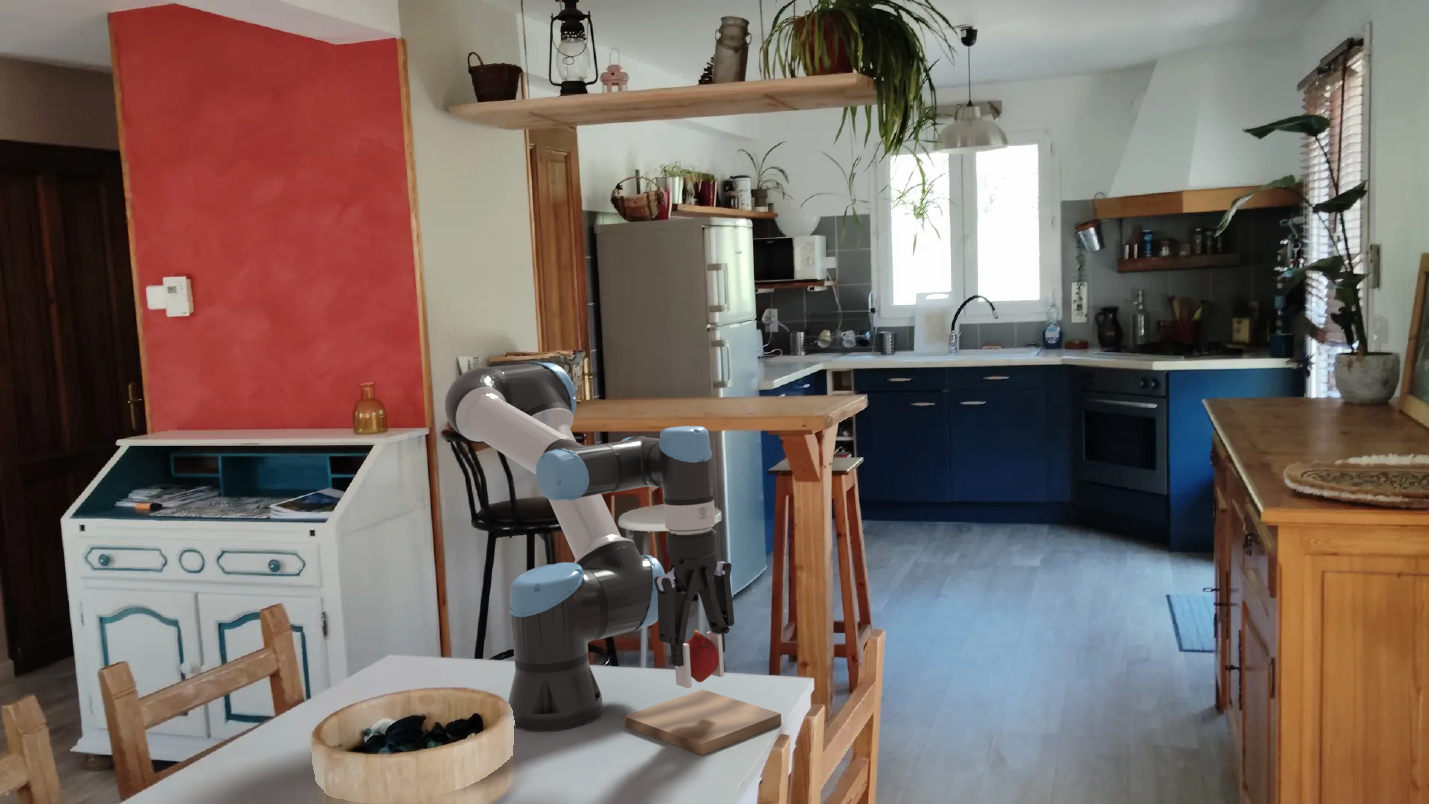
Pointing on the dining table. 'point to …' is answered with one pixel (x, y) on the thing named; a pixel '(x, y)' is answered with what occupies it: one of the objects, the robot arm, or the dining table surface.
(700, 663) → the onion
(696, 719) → the chopping board
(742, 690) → the dining table surface
